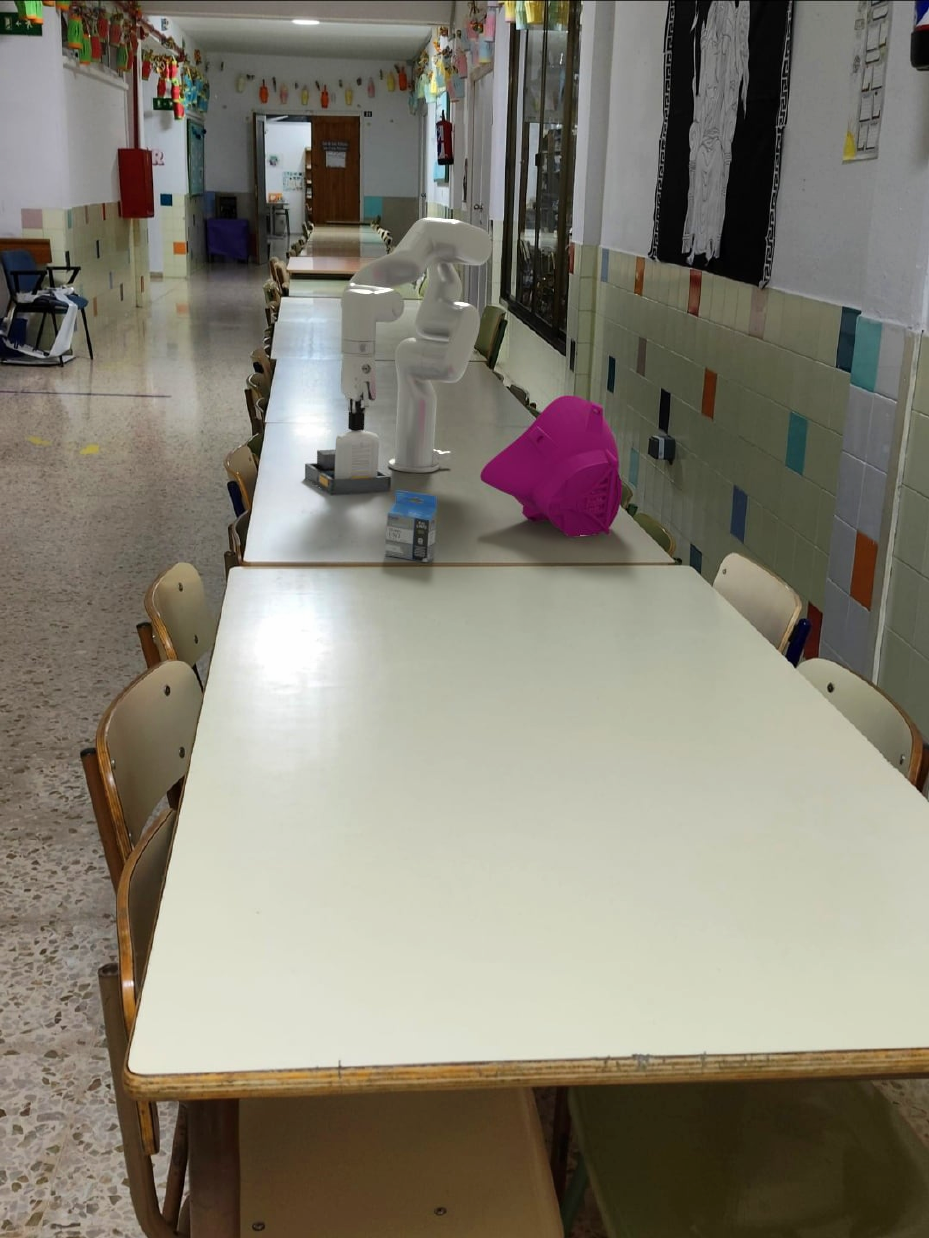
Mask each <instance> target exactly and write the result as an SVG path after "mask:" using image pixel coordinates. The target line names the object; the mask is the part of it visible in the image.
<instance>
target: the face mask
mask: <svg viewBox="0 0 929 1238" xmlns="http://www.w3.org/2000/svg"><path fill="white" fill-rule="evenodd" d="M619 470H620V458H619V449H618V446H617V442H616V439H615V436H614V434H613V431H612V428H610V426H609V423H608V421H607V419H606V418H605V417H604V408H603V407H602V405H601V404H599V403H596V402H594V401H592V400H590V401H587V400H586V399H583V398H582V397H579V396H577V395H576V396H575V395H571V394H570V395H567V394H566V395H562V396H559V397H557V398H556V399H554V400H553V401H551V402H550V403H549V404H548V405H547V406H546V407H545V408H544V409H543V410H542V411H541V413H540V414H539V415H538V416H537V417H536V419H535V420H534V421H533V422H532V423H531V425H530V426H529V427H528V428H527V429H526V430H525V431H524V432H523V433H522V434H521V435H520V436H519V437H518V438H516V439H515V440H514V441H512V442H511V444H509V445H508V446H507V447H505V448H504V449H503V450H502V451H500V452H498V454H497V455H495V456H494V457H493V458H492V459H491V460H490V461H489V462H487V463H486V465H485V466H484V467H483V468H482V470H481V472H480V476H479V477H480V480H481V482H483V483H484V484H487V485H488V486H490V487H492V488H494V489H496V490H498V491H500V492H503V493H505V494H507V495H509V496H511V497H514V498H515V500H516V501H517V502H518V503H519V504H520V505H521V506H522V512H521V514H522V515H523V516H524V517H525V518H526V519H528V520H529V521H530V522H532V523H537V522H544V521H549V522H550V523H551V524H552V525H553V526H554V527H555V528H557V529H558V530H559V531H561V532H562V533H563V534H564V535H566V536H567V537H571V538H574V537H573V536H580V535H591V536H595V535H599V534H600V533H604V534H606V535H607V536H608V535H609V536H610V535H611V530H610V528H611V526H612V525H613V522H614V520H615V519H616V518H617V515H618V514H619V509H620V504H621V501H622V495H623V494H622V493H623V482H622V478H621V476H620V474H619ZM594 534H595V535H594Z"/></svg>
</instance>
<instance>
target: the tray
mask: <svg viewBox="0 0 929 1238" xmlns="http://www.w3.org/2000/svg"><path fill="white" fill-rule="evenodd" d="M335 450H336V449H324V450H323V449H320V450H319V449H318V450H317V451H316V462H311V463H305V464H304V479H305V480H307V479H308V480H309V481H308V480H307V481H308V482H310V483H311V482H312V484H313V485H315V486H316V485H317V486H316V487H318V488H319V487H320V488H319V489H321V490H322V491H324V492H325V491H326V492H325V493H327V494H328V495H330V496H343V495H345V496H347V495H361V494H372V493H373V494H374V493H375V494H376V493H389V492H391V489H392V488H391V486H392V476H391V475H389V474H387V473H385V472H383V471H382V470H380V469H378V472H377V477H372V476H357V477H350V478H345V479H334V478H335Z"/></svg>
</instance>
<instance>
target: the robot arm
mask: <svg viewBox="0 0 929 1238" xmlns="http://www.w3.org/2000/svg"><path fill="white" fill-rule="evenodd" d="M492 249H493V243H492V239H491V236H490V235H489V233H488V232H487V231H486V230H485V229H483V228H481V227H479V226H475V225H473V224H470V223H467V222H465V221H463V220H462V221H461V220H457V219H448V218H436V217H423V218H420V219H418V220H417V221H415V222H414V223H413V224H412V226H411V227H410V229H408V230H407V233H406V234H405V235H404V236H403V238H402V239H401V240H400V242H399V243H398V244H397V245H396V247H394V249H393V251H392V252H391V253H388V254H386V255H383V256H381V257H379V258H377V259H375V260H373V261H371V262H369V263H367V264H366V265H364V266H362V267H361V268H359V269H358V270H357V271H356V272H355V273H354V275H353V276H352V277H351V278H350V280H349V281H348V282H347V284H346V285H345V287H344V288H343V290H342V294H341V297H340V308H341V333H340V334H341V335H340V336H341V344H340V346H341V348H340V354H341V355H342V361H341V373H340V391H341V394H342V395H343V396H344V398H345V400H346V401H347V409H348V423H347V424H348V428H347V429H348V430H350V431H365V415H366V409H368V408H369V407H370V403H369V402H370V401H372V402H373V401H375V400H376V399H377V369H376V368H377V367H376V360H375V356H376V341H377V339H376V334H377V330H376V329H377V323H385V324H387V323H394V322H395V321H398V319H400V317H401V316H402V314H403V313H404V309H405V301H404V297H403V296H402V294H401V293H400V292H399V291H398V290H396V289H394V287H395V288H396V287H401V286H405V285H409V284H413V283H415V282H416V281H418V280H420V278H422V276H423V274H425V272H426V270H427V271H428V283H427V287H426V289H425V290H424V291H425V292H424V294H423V296H422V300H421V301H420V305H419V307H418V310H417V313H416V317H415V319H414V328H415V331H416V333H417V334H418V335H419V336H421V337H409V338H405V339H403V340H402V341H400V343H399V344H398V345H397V346H396V349H395V352H394V361H395V362H394V363H395V368H396V377H397V379H396V380H397V404H396V428H395V447H394V448H395V450H394V451H395V452H394V458H391V459H390V460H389V461H388V467H389V468H390V469H393V470H396V471H399V472H403V473H415V474H416V473H418V474H420V473H423V474H424V473H432V472H436V471H438V470H439V469H440V463H439V461H440V460H451V458H452V453H451V451H442V450H438V449H435V433H436V432H435V430H436V418H437V417H436V414H437V393H436V391H435V389H434V388H435V387H434V386H433V384H432V382H433V381H434V382H441V383H446V384H447V383H448V384H449V383H450V384H452V383H453V384H454V383H457V382H458V381H460V380H461V379H462V377H463V375H464V374H465V371H466V369H467V366H468V363H469V361H470V359H471V356H472V353H473V350H474V348H475V345H476V342H477V339H478V336H479V333H480V327H481V319H480V317H481V316H480V313H479V311H478V309H477V307H476V306H475V305H472V304H470V303H467V302H461V301H460V299H461V296H462V292H463V285H462V281H461V279H460V276H459V274H458V272H457V271H456V268H455V267H454V265H453V264H458V265H466V266H482V265H484V264H485V263H486V262H487V261H488V260H489V259H490V257H491V254H492ZM422 337H423V338H422ZM431 381H432V382H431Z"/></svg>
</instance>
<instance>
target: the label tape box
mask: <svg viewBox="0 0 929 1238" xmlns="http://www.w3.org/2000/svg"><path fill="white" fill-rule="evenodd" d="M415 498H416V499H417V500H421V501H423V502H420V501H412V500H410V499H415ZM437 499H438V498H437V495H431V494H427V493H426V494H424V493H419V492H412V491H405V490H400V489H399V490H398V489H396V490H395V501H394V503H393V505H392V506H391V508H390V510H388V513H387V516H386V517H387V518H386V519H387V520H386V521H387V522H386V536H385V552H384V553H385V554H384V555H385V556H388V557H393V558H400V559H407V560H412V561H418V562H424V563H428V562H430V561H432V560H433V559H434V557H435V546H436V545H435V544H436V543H435V542H436V530H437V529H436V528H437V527H436V525H437V515H438V513H437V512H438V508H437V507H438V506H437V502H438V501H437Z"/></svg>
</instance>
